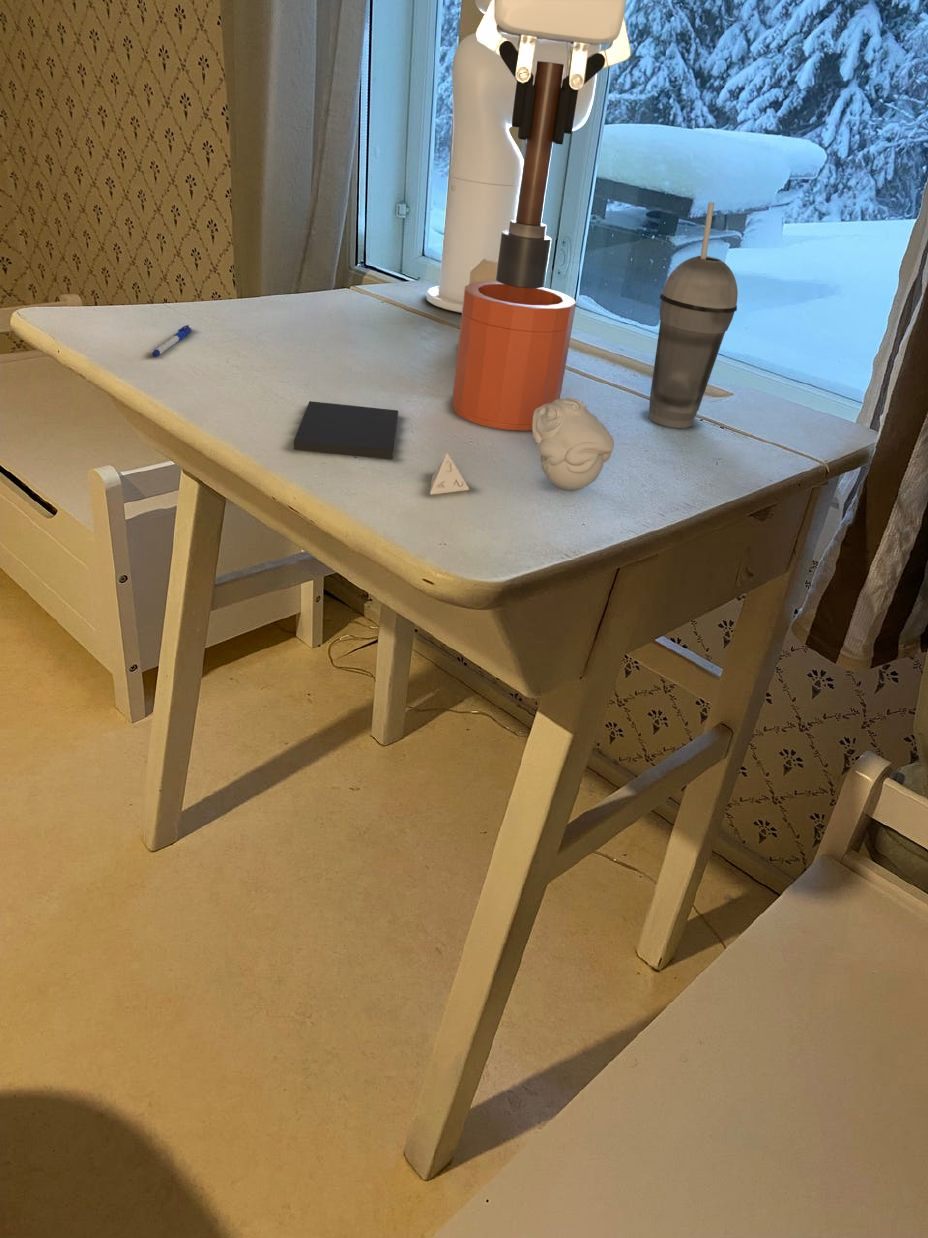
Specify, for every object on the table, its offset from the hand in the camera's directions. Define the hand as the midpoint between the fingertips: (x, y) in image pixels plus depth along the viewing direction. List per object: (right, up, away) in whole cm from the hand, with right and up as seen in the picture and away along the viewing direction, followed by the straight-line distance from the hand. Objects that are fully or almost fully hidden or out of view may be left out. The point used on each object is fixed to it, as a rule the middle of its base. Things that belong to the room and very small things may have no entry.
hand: (539, 138), depth 77 cm
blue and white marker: (-36, -12, +19) cm, 43 cm away
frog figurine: (+2, -29, -2) cm, 30 cm away
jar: (-2, -20, +12) cm, 24 cm away
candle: (-4, -9, +30) cm, 32 cm away
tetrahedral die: (-8, -30, -5) cm, 32 cm away
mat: (-16, -24, +2) cm, 29 cm away
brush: (-1, -10, +6) cm, 12 cm away
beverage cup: (+14, -20, +16) cm, 29 cm away
